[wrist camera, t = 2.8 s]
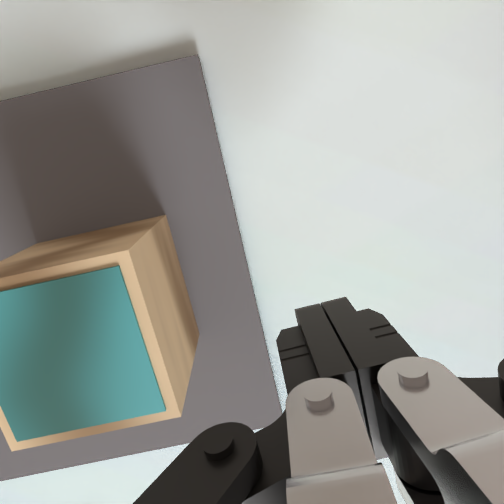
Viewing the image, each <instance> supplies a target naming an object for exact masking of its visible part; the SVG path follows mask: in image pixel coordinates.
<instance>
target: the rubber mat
mask: <svg viewBox="0 0 504 504" xmlns="http://www.w3.org/2000/svg"><path fill="white" fill-rule="evenodd" d="M162 215H166V217H167V221H168V224H169V228H170V231H171V235H172V238H173V242H174V245H175V249H176V252H177V256H178V260H179V263H180V267H181V270H182V274H183V277H184V281H185V284H186V288H187V291H188V295H189V299H190V302H191V306H192V309H193V313H194V316H195V320H196V323H197V327H198V330H199V339H198V343H197V348H196V352H195V357H194V361H193V366H192V370H191V375H190V379H189V384H188V388H187V393H186V397H185V402H184V406H183V411H182V415H181V417H178V418H173V419H168V420H163V421H158V422H153V423H148V424H144V425H139V426H134V427H129V428H124V429H119V430H114V431H109V432H105V433H100V434H95V435H90V436H85V437H80V438H75V439H70V440H66V441H61V442H56V443H51V444H46V445H41V446H36V447H31V448H27V449H22V450H17V451H11V449H10V447H9V445H8V443H7V441H6V438H5V436H4V434H3V432H2V430H1V428H0V481H4V480H9V479H14V478H19V477H24V476H28V475H33V474H38V473H43V472H48V471H53V470H58V469H63V468H68V467H73V466H78V465H83V464H88V463H93V462H98V461H102V460H107V459H112V458H117V457H122V456H127V455H132V454H137V453H142V452H147V451H152V450H157V449H162V448H167V447H171V446H176V445H181V444H186V443H191V442H192V441H193V440H194V439H195V438H196V437H197V436H198V435H199V434H200V433H202V432H203V431H205V430H206V429H208V428H210V427H212V426H214V425H217V424H221V423H226V422H238V423H242V424H244V425H247V426H248V427H250V428H251V429H252V430H255V429H260V428H265V427H267V426H269V425H271V424H272V423H273V422H275V421H276V420H277V419H278V418H279V417H280V416H281V415H282V411H281V406H280V402H279V398H278V393H277V389H276V385H275V381H274V376H273V372H272V368H271V364H270V359H269V355H268V351H267V346H266V342H265V338H264V334H263V329H262V325H261V321H260V316H259V312H258V308H257V304H256V299H255V295H254V291H253V286H252V282H251V278H250V274H249V269H248V265H247V261H246V257H245V252H244V248H243V244H242V239H241V235H240V231H239V227H238V222H237V218H236V214H235V209H234V205H233V201H232V197H231V192H230V188H229V184H228V179H227V175H226V171H225V167H224V162H223V158H222V154H221V150H220V145H219V141H218V137H217V132H216V128H215V124H214V120H213V115H212V111H211V107H210V102H209V98H208V94H207V90H206V85H205V81H204V77H203V73H202V68H201V64H200V60H199V57H198V55H193V56H189V57H185V58H181V59H176V60H172V61H168V62H164V63H159V64H155V65H151V66H147V67H143V68H138V69H134V70H130V71H126V72H121V73H117V74H113V75H109V76H105V77H100V78H96V79H92V80H88V81H84V82H79V83H75V84H71V85H67V86H62V87H58V88H54V89H50V90H46V91H41V92H37V93H33V94H29V95H24V96H20V97H16V98H12V99H8V100H3V101H0V261H2V260H4V259H6V258H8V257H10V256H12V255H14V254H16V253H18V252H20V251H22V250H25V249H27V248H29V247H31V246H33V245H35V244H37V243H41V242H46V241H50V240H55V239H59V238H64V237H68V236H73V235H77V234H82V233H86V232H91V231H95V230H100V229H104V228H109V227H113V226H118V225H122V224H127V223H131V222H135V221H140V220H144V219H149V218H153V217H158V216H162Z"/></svg>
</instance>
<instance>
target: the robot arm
mask: <svg viewBox="0 0 504 504" xmlns="http://www.w3.org/2000/svg"><path fill="white" fill-rule="evenodd" d="M295 314H296V318H297V323H298V326H296V327H291V328H287V329H283V330H281V332H280V334H279V336H278V338H277V340H276V342H277V347H278V351H279V356H280V361H281V365H282V370H283V375H284V380H285V384H286V389H287V394H288V396H287V399H286V409H285V411H284V412H283V414H282V415H281V416H280V417H279V418H278V419H277V420H276V421H275V422H273V423H272V424H271V425H269V426H267V427H265V428H263V429H261V430H260V431H258V432H256V433H254V432H253V431H252V429H251V428H250V427H248V426H247V425H244V424H242V423H238V422H226V423H221V424H217V425H214V426H212V427H210V428H208V429H206V430H205V431H203V432H202V433H200V434H199V435H198V436H197V437H196V438H195V439H194V440H193V441H192V442H191V443H190V444H189V445H188V446H187V447H186V448H185V449H184V450H183V451H182V452H181V453H180V454H179V455H178V456H177V458H176V459H175V460H174V461H173V462H172V463H171V464H170V465H169V466H168V467H167V468H166V469H165V470H164V471H163V472H162V473H161V474H160V476H159V477H158V478H157V479H156V480H155V481H154V482H153V483H152V484H151V485H150V486H149V487H148V488H147V489H146V490H145V491H144V492H143V494H142V495H141V496H140V497H139V498H138V499H137V500H136V501H135V502H134V503H133V504H397V501H396V499H395V496H394V493H393V490H392V488H391V485H390V482H389V479H388V477H387V474H386V471H385V469H384V467H383V465H382V463H377V460H378V459H382V458H387V457H389V459H390V461H391V463H392V465H393V467H394V472H395V478H396V483H397V487H398V490H399V492H400V494H401V496H402V497H403V499H404V501H405V503H406V504H504V359H503V360H502V361H501V362H500V364H499V366H498V377H492V378H461V377H456V376H455V375H454V374H453V373H452V372H451V371H450V370H448V369H447V368H446V367H445V366H444V365H442V364H441V363H439V362H437V361H435V360H432V359H428V358H423V357H419V356H418V355H417V354H416V353H415V352H414V350H413V349H412V348H411V347H410V346H409V345H408V343H407V342H406V341H405V340H404V339H403V338H402V337H401V335H400V334H399V333H397V331H396V330H395V328H394V327H393V326H391V325H390V323H389V322H388V320H387V319H386V318H385V317H384V316H383V315H382V314H380V313H378V312H375V311H373V310H371V309H365V310H361V311H356V310H355V309H354V307H353V306H352V305H351V303H350V302H349V301H348V299H347V298H346V297H343V298H339V299H335V300H331V301H327V302H322V303H321V306H320V304H315V305H311V306H307V307H302V308H298V309H295Z"/></svg>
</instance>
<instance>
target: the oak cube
mask: <svg viewBox="0 0 504 504" xmlns="http://www.w3.org/2000/svg"><path fill="white" fill-rule="evenodd" d="M198 339H199V330H198V327H197V323H196V320H195V316H194V313H193V309H192V306H191V302H190V299H189V295H188V291H187V288H186V284H185V281H184V277H183V274H182V270H181V267H180V263H179V260H178V256H177V252H176V249H175V245H174V242H173V238H172V235H171V231H170V228H169V224H168V221H167V217H166V215H162V216H158V217H153V218H149V219H144V220H140V221H135V222H131V223H127V224H122V225H118V226H113V227H109V228H104V229H100V230H95V231H91V232H86V233H82V234H77V235H73V236H68V237H64V238H59V239H55V240H50V241H46V242H41V243H37V244H35V245H33V246H31V247H29V248H27V249H25V250H22V251H20V252H18V253H16V254H14V255H12V256H10V257H8V258H6V259H4V260H2V261H0V428H1V430H2V432H3V434H4V436H5V438H6V441H7V443H8V445H9V447H10V449H11V451H17V450H22V449H27V448H31V447H36V446H41V445H46V444H51V443H56V442H61V441H66V440H70V439H75V438H80V437H85V436H90V435H95V434H100V433H105V432H109V431H114V430H119V429H124V428H129V427H134V426H139V425H144V424H148V423H153V422H158V421H163V420H168V419H173V418H178V417H181V415H182V411H183V406H184V402H185V397H186V393H187V388H188V384H189V379H190V375H191V370H192V366H193V361H194V357H195V352H196V348H197V343H198Z"/></svg>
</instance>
